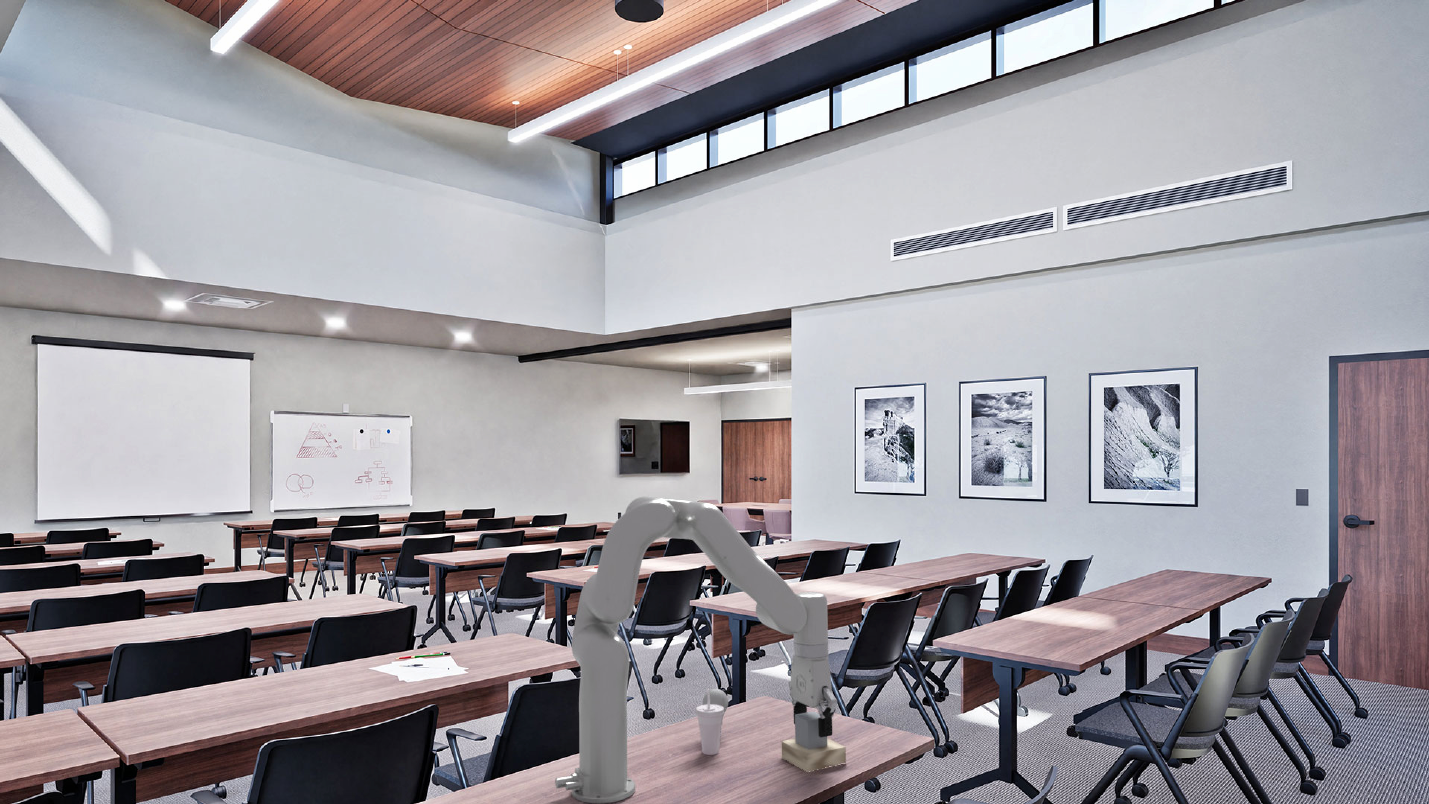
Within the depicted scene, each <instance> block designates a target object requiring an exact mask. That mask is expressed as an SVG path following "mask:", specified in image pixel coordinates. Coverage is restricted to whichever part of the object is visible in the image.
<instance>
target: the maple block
mask: <svg viewBox="0 0 1429 804" xmlns="http://www.w3.org/2000/svg"><path fill="white" fill-rule="evenodd" d="M846 750H847V747H846V746H845V745H842V744H840V743H839V742H836V741H834V740H832V739H830V738H828V737H827V746H823V747H818V748H814V749H809V750H808V749H806V748H804V747H803V746H801V745H799V744H797V743H795V738H792V739H791V738H790V739H786V740H782V741H781V758H782V759H783V760H784V761H786V760H787V762H788V761H789V762H788V763H790V764H791V763H792V765H793V764H794V766H795V767H797V768H798V767H799V769H800V770H802V769H803V770H805V771H806V772H805V771H804V772H805V773H807V772H808V773H810V772H809V771H812V772H814V771H813V770H817V769H821V770H823V769H822V768H825V767H829V766H835V765H838V764H841V763H846V764H847V755H846V754H847V753H846V752H847V751H846ZM835 767H836V766H835ZM803 770H802V771H803ZM817 771H818V770H817Z"/></svg>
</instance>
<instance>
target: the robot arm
mask: <svg viewBox="0 0 1429 804" xmlns="http://www.w3.org/2000/svg"><path fill="white" fill-rule="evenodd" d="M661 538H666V539H680V540H681V539H684V540H692V541H693V542H694V543H695V544H696V545H697V546H698V548H699V549H700V550H701V551H702V552H703V553H704V554H705V555H706V557H707V558H708V560H710V562H711V563H712V564H713V565H714V567H715V568H716V569H717V570H718V572H719V573H720V574H721V575H722V577H723V578H725V579H726V580H727V581H728V582H729V583H730V584H732V585H733V586H735V587H736V588H738V589H739V590H740V591H742V592H744V593H745V594H746V595H748V596H749V597H750V598H751V599H752V600H753V601H755V603H756V605H755V614H756V617H757V618H758V621H760V622H761V624H762V625H764V626H765V627H768V628H770V629H772V630H776V631H778V632H780V633H781V634H785V635H789V636H790V635H793V653H792V654H793V655H792V658H791V659H792V660H791V667H790V681H788V687H789V691H790V697H791V699H792V701H791V704H792V706H793V724H794V725H795V715H796V714H802V713H807V712H808V708H811V709H813V708H814V709H815V708H816V710H817V713H819V715H820V718H818V731H819V737H821V738H822V737H827V738H828V737H830V736H832V735H833V718H834V716H835V715H834V714H835V713H836V707H837V705H838V699H837V698H836V697H835V696H834V695H833V691H832V690H833V689H832V687H833V686H832V678H831V668H830V662H829V630H828V629H829V626H828V620H829V619H828V618H829V617H828V599H827V596H826V595H825V594H824V593H822V592H817V591H816V592H815V591H806V592H805V591H803V592H798V593H795V592H794V590H793V589H792V588H791V586H789V584H788V583H787V582H786V581H785V580H784V579H783V578H782V577H781V576H780V575H779V574H778V573H777V572H776V571H775V570H774V569H773V568H772V567H771V566H770V565H769V564H768V563H767V562H766V561H765V560H764V559H763V558H762V557H761V556H760V555H759V554H758V553H757V552H756V551H755V550H754V549H753V548H752V547H751V545H749V543H748V542H747V540H745V538H744V537H743V536H742V535H741V534H740V532H739V531H738V530H737V528H736V527H735V525H733V524H732V523H731V521H730V520H729V519H728V517H727V516H726V515H725V514H724V513H723V512H722V510H720V509H719V508H718V507H717V506H716V505H714V504H712V503H709V502H702V501H694V500H693V501H692V500H690V501H689V500H678V499H677V500H676V499H668V498H659V497H652V496H651V497H650V496H641V497H637V498H634V499H633V500H631V502H630V503H629V504H628V506H627V507H626V509H625V512H624V513H623V514H622V515H620V517H619V518H618V519H617V520H616V521H615V523H613V524H612V526H611V528H610V529H609V531H608V532H607V535H606V537H605V539H604V542H603V544H602V547H601V548H602V549H601V554H600V558H599V561H598V567H597V569H596V570H597V571H596V573H595V574H594V573H593V575H591V576H590V577H589V578H588V579H587V580H586V582H585V583H584V585H583V586H582V589H581V592H580V594H579V595H580V596H579V601H578V605H577V609H576V616H575V620H574V621H575V622H574V626H573V631H572V632H573V633H572V637H571V652H572V656H573V658H574V660H575V661H576V662H577V664H578V665H579V666H580V667H579V668H580V679H579V696H578V700H579V701H578V712H579V713H578V714H579V715H578V716H579V717H578V718H579V719H578V720H579V721H578V723H579V725H578V726H579V728H578V729H579V732H578V733H579V736H578V737H579V743H578V744H579V747H578V748H579V749H578V750H579V755H578V756H579V767H575V768H574V773H571V774H570V775H569V776H561V777H556V778H555V783H554V784H555V788H556V789H562V788H565V790H566V791H571V796H572V797H573V798H574V799H576V800H577V801H580V802H582V803H588V804H611V803H615V802H619V801H622V800H625V799H628V798H629V797H631V796H632V795H633V794H634V792H635V791H636V782H635V781H634V780H633V779H632V778H630V777H628V683H629V682H628V678H629V671H630V654H629V650H628V645H627V644H626V643H625V641H624V639H623V638H622V637H621V635H619V634H618V631H619V626H620V624H622V623H623V622H625V621H626V620H627V619H628V618H629V617H630V616H631V614H632V613H633V610H634V606H635V601H636V595H637V589H638V588H637V587H638V583H639V576H640V570H641V567H642V563H643V560H644V556H645V553H646V552H647V549H648V548H649V547H650V546H651V545H652V544H653V543H654V542H655V541H657V540H659V539H661ZM823 708H825V709H823Z"/></svg>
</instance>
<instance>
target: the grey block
mask: <svg viewBox="0 0 1429 804" xmlns="http://www.w3.org/2000/svg"><path fill="white" fill-rule="evenodd" d="M818 718H820V715H819V713H818V712H816V711H815V710H814V711H809V712H808V711H807V713H802V714H796V715H795V724H794V729H795V730H794V734H795V735H794V736H795V738H794V739H795V743H797V744H799V745H801V746H803V747H804V748H806V749H808V750H809V749H814V748H818V747H823V746H827V738H828V736H827V737H822V738H821V737H819V731H818Z"/></svg>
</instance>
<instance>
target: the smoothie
mask: <svg viewBox="0 0 1429 804" xmlns="http://www.w3.org/2000/svg"><path fill="white" fill-rule="evenodd" d="M710 690H711V688H707V690H706V691H707V692H706V693H707V696H708V704H707V705H703V704H701V705H698V706H697V707H696V708H695V713H696V715H697V720H698V727H699V737H700V743H701V752H702V754H704V755H707V756H712V755H717V754H719V751H720V744H721V735H722V726H723V721H722V715H723V714H724V715H725V713H724V708H723V707H722V706H720V705H715V704H710Z"/></svg>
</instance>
